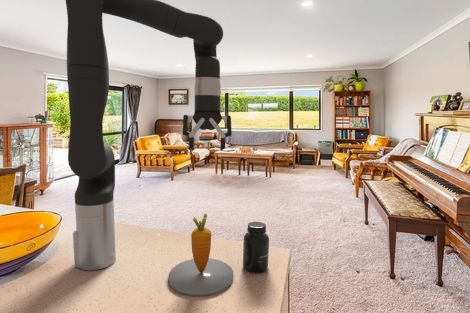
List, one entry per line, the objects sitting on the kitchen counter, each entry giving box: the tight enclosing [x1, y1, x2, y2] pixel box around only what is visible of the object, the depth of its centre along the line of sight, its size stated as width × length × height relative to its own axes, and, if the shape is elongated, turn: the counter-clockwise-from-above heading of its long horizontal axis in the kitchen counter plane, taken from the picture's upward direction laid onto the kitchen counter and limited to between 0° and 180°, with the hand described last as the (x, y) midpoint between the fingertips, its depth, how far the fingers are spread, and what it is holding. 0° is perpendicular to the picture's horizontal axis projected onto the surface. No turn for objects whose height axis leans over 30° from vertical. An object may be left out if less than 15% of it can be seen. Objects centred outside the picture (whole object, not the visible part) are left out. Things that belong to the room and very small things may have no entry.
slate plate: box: [168, 257, 234, 297], centre depth 72 cm, size 16×16×1 cm
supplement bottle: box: [242, 221, 270, 274], centre depth 76 cm, size 7×7×12 cm
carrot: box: [190, 213, 212, 273], centre depth 71 cm, size 5×5×15 cm
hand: (207, 150), depth 85 cm, fingers open, 8 cm apart
